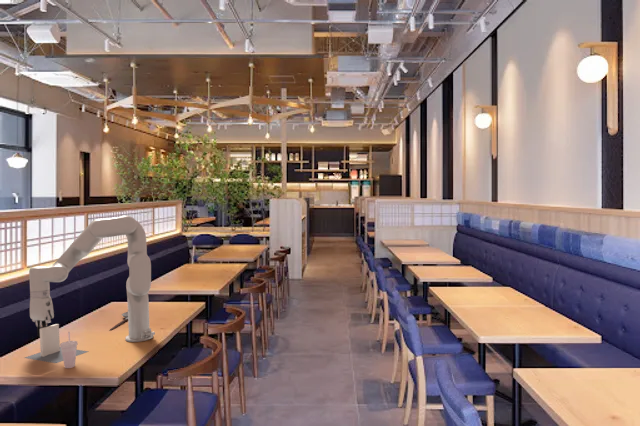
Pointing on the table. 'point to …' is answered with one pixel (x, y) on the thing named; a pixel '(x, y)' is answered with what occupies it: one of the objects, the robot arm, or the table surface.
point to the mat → (52, 356)
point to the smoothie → (69, 352)
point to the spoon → (121, 321)
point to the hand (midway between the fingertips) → (42, 335)
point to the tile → (49, 340)
